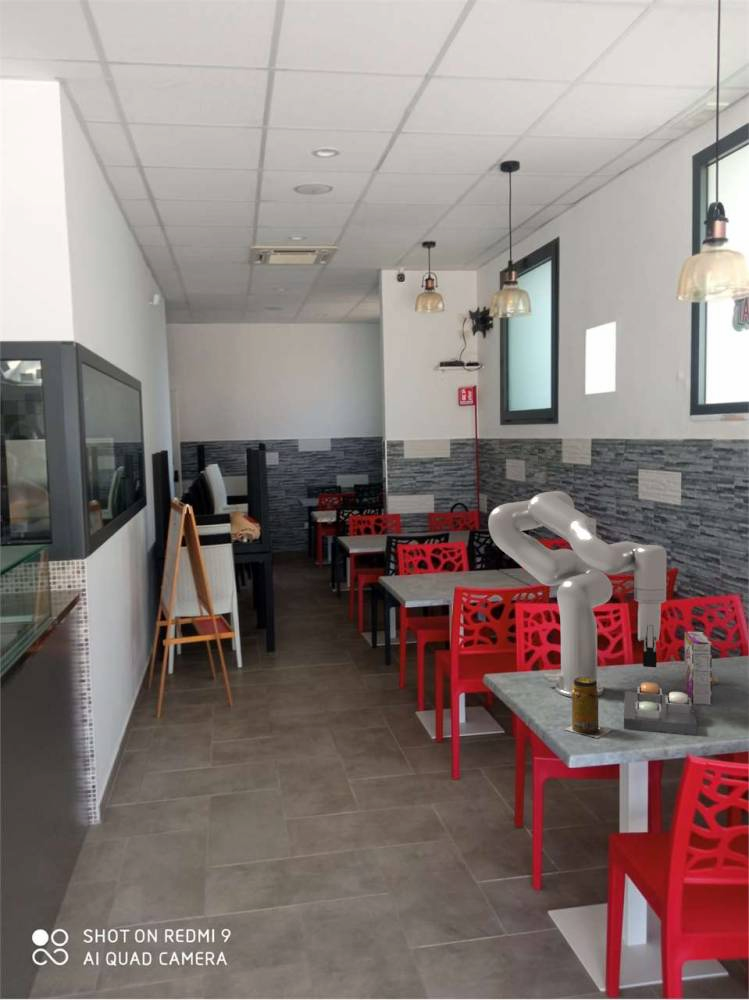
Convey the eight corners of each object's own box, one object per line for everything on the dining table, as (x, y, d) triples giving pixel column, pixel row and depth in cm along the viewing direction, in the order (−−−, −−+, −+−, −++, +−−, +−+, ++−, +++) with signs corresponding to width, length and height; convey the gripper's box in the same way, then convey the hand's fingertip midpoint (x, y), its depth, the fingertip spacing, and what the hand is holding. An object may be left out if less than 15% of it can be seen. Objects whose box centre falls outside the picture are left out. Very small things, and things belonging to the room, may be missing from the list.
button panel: (623, 728, 185) (623, 710, 185) (625, 700, 204) (625, 683, 204) (696, 735, 180) (696, 716, 180) (690, 706, 199) (691, 688, 199)
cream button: (669, 704, 189) (669, 696, 189) (668, 699, 193) (668, 691, 193) (688, 706, 188) (688, 698, 188) (687, 700, 192) (687, 692, 191)
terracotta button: (640, 694, 197) (640, 686, 197) (640, 689, 201) (640, 681, 201) (658, 695, 195) (658, 688, 195) (658, 690, 199) (658, 683, 199)
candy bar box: (683, 690, 211) (683, 630, 210) (703, 691, 210) (703, 631, 209) (691, 704, 200) (692, 641, 199) (712, 705, 199) (713, 642, 198)
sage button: (639, 714, 186) (639, 706, 185) (638, 708, 190) (638, 700, 189) (657, 716, 184) (657, 708, 184) (657, 710, 188) (657, 702, 188)
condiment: (579, 721, 190) (579, 673, 189) (612, 730, 185) (612, 680, 184) (564, 730, 185) (564, 680, 184) (597, 739, 179) (597, 688, 178)
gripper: (634, 588, 204) (634, 656, 206) (634, 600, 190) (633, 673, 192) (665, 589, 202) (664, 658, 203) (667, 601, 188) (666, 676, 189)
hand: (649, 665), depth 197 cm, fingers closed
